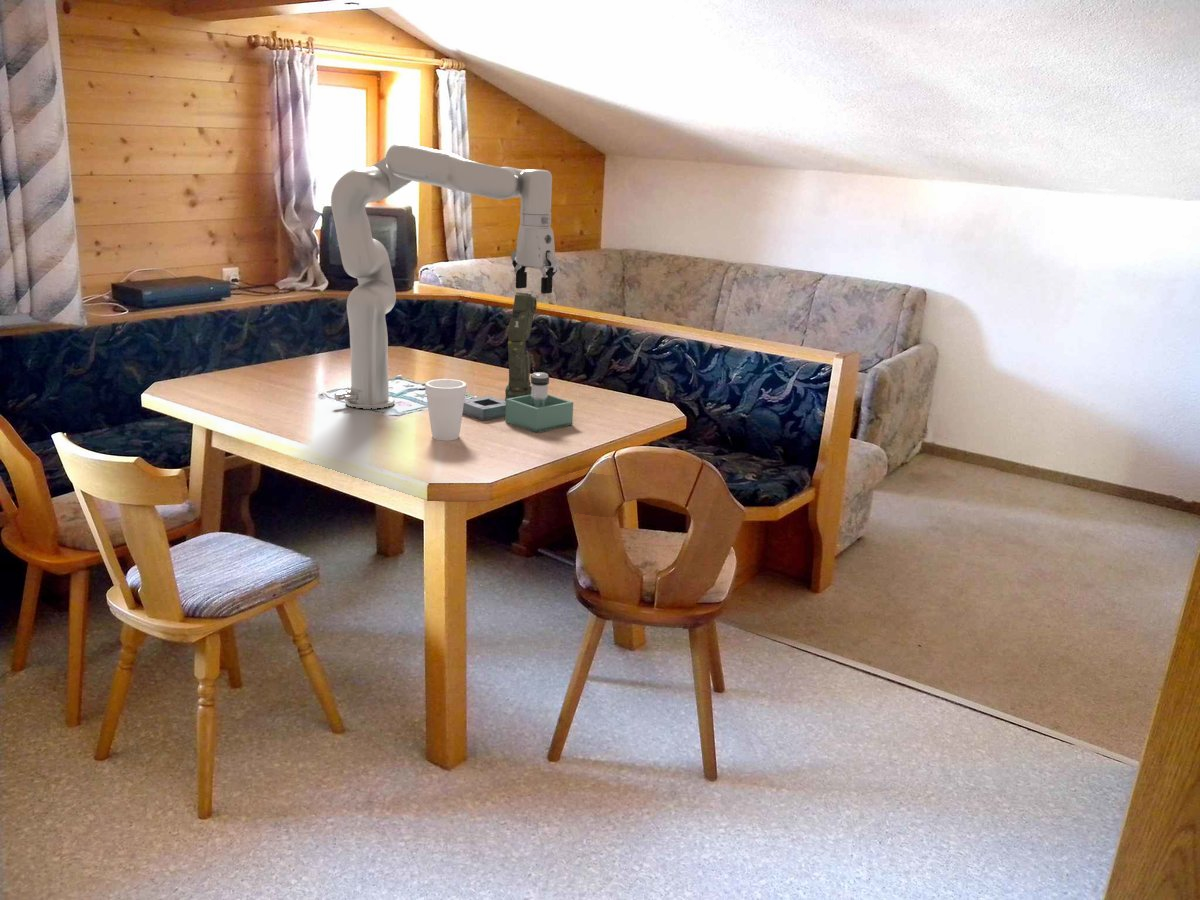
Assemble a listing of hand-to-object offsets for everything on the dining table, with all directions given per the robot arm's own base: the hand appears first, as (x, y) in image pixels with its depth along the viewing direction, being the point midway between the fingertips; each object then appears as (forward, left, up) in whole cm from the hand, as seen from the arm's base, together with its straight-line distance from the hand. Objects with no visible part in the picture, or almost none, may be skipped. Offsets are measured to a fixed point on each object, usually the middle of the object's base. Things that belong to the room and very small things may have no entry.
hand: (533, 290), depth 253 cm
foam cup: (-30, -4, -32) cm, 44 cm away
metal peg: (-4, -8, -32) cm, 33 cm away
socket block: (-9, +7, -32) cm, 34 cm away
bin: (-4, -8, -32) cm, 34 cm away
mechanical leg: (+9, +15, -32) cm, 37 cm away
